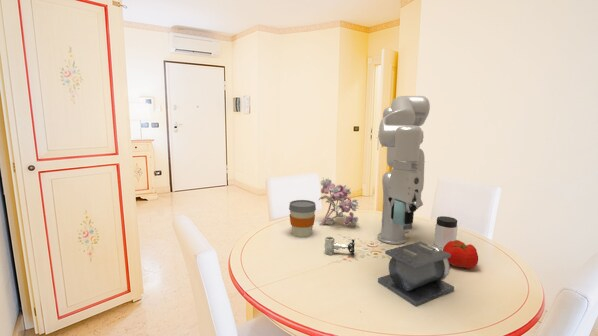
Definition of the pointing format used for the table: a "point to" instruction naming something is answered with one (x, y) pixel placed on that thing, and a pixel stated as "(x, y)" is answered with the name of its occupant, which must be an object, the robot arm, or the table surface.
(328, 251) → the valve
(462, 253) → the tomato
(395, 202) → the teal cylinder with cap
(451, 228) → the jar
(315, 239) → the table surface
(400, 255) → the motor
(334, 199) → the flower
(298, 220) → the reusable coffee cup
